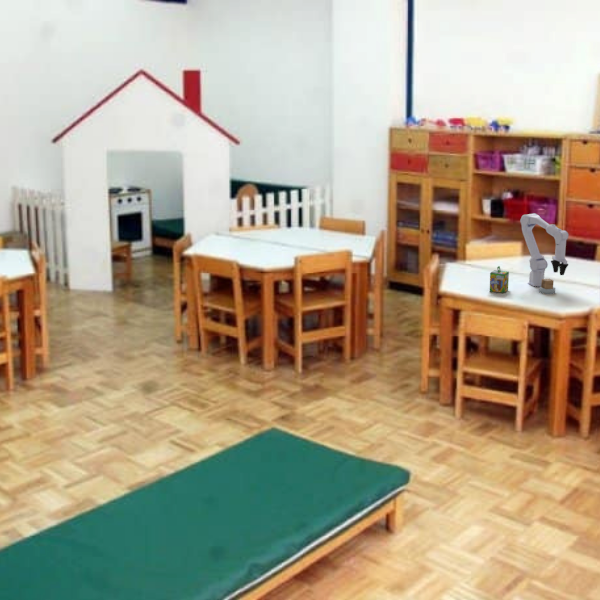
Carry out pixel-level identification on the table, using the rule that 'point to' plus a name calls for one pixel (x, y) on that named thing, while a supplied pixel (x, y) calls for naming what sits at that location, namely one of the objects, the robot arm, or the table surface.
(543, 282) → the cube
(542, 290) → the platform
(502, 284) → the chalk box
